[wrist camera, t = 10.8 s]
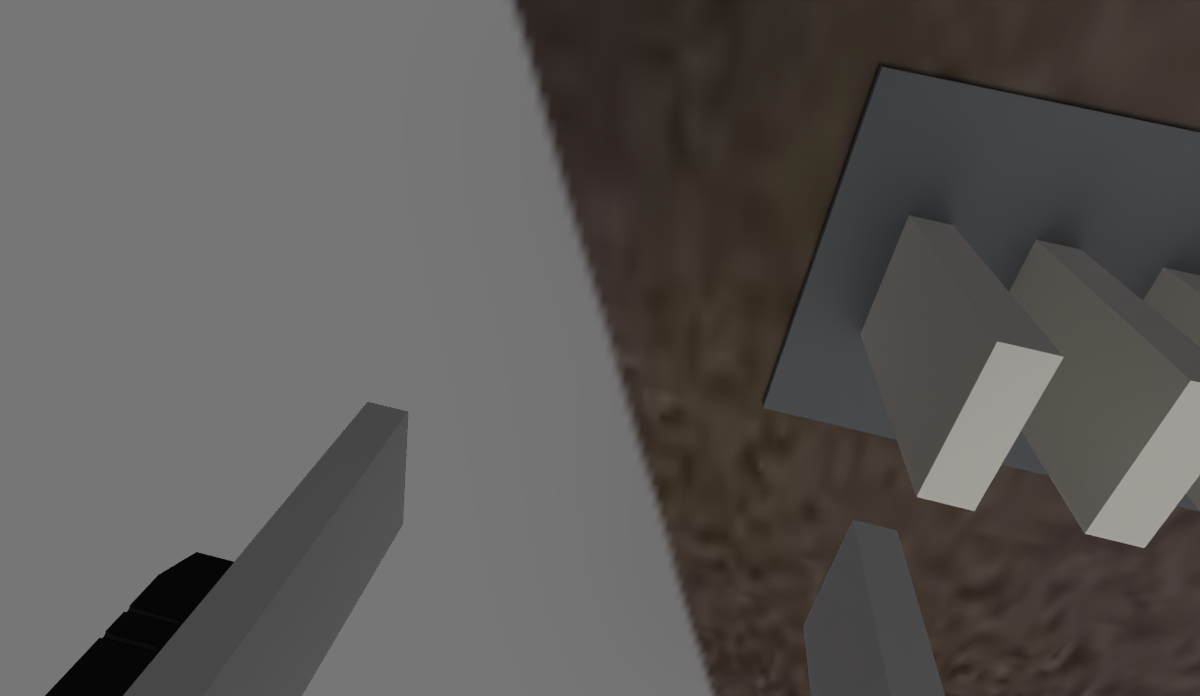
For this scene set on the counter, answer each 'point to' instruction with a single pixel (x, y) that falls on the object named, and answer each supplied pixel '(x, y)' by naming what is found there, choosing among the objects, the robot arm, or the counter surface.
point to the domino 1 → (1111, 397)
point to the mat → (979, 219)
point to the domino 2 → (1179, 317)
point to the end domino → (953, 362)
